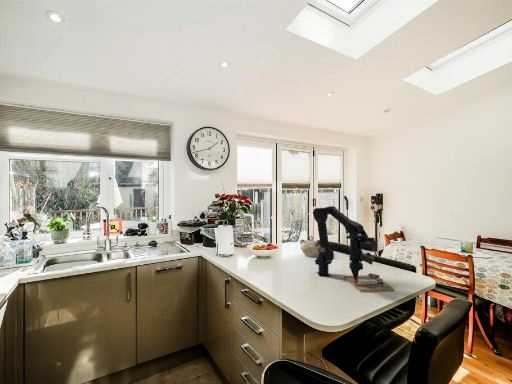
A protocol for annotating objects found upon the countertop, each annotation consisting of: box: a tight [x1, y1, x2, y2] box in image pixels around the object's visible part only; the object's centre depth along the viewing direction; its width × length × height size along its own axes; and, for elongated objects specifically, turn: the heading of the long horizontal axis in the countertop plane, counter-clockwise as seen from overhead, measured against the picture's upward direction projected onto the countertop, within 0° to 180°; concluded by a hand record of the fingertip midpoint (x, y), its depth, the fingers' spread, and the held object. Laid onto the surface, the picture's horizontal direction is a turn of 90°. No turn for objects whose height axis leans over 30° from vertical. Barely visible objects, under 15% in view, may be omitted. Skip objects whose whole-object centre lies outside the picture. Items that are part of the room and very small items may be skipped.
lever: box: [353, 277, 384, 284], centre depth 129 cm, size 15×3×6 cm, turn 87°
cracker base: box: [343, 272, 395, 293], centre depth 133 cm, size 20×17×4 cm
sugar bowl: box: [299, 235, 320, 257], centre depth 193 cm, size 20×15×15 cm
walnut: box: [368, 273, 376, 280], centre depth 135 cm, size 4×4×4 cm
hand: (355, 278), depth 130 cm, fingers open, 4 cm apart
